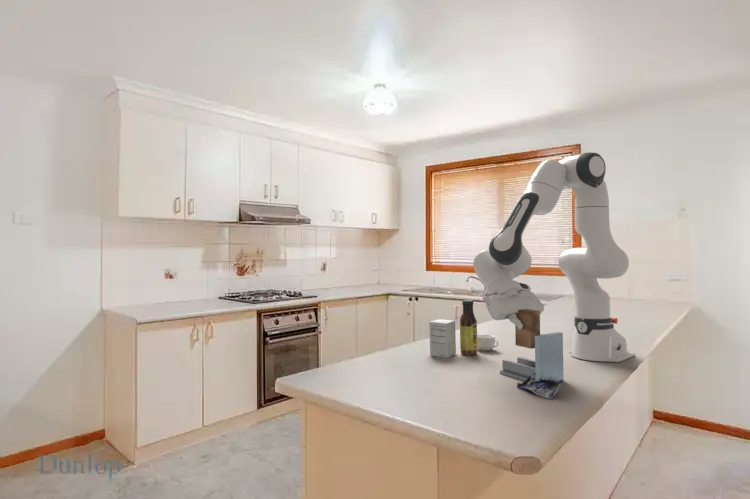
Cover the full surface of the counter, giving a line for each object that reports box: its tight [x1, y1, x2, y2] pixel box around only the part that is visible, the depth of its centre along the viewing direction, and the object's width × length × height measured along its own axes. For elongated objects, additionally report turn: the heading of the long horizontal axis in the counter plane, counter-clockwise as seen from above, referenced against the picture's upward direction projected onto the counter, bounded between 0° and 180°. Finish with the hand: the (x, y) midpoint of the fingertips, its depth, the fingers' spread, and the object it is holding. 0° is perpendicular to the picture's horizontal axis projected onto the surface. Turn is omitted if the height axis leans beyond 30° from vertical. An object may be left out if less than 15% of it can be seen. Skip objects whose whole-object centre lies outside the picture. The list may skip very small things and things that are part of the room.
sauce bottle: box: [459, 299, 478, 356], centre depth 169 cm, size 7×6×20 cm
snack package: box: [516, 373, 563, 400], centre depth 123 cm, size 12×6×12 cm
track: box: [499, 331, 565, 383], centre depth 138 cm, size 10×16×14 cm, turn 29°
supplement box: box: [428, 318, 457, 359], centre depth 169 cm, size 7×7×13 cm
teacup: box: [477, 333, 499, 352], centre depth 175 cm, size 10×8×5 cm
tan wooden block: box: [514, 309, 541, 350], centre depth 138 cm, size 4×6×11 cm, turn 29°
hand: (529, 327), depth 138 cm, fingers closed on tan wooden block, 4 cm apart
